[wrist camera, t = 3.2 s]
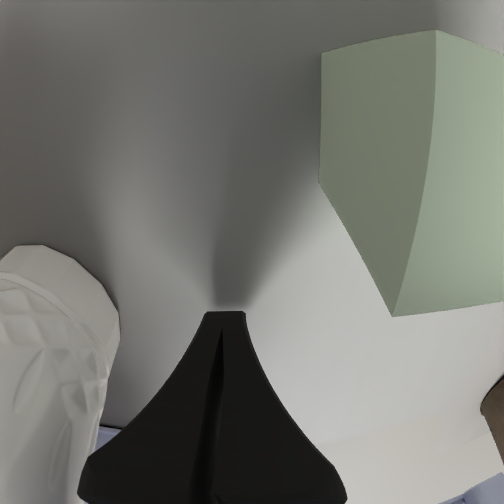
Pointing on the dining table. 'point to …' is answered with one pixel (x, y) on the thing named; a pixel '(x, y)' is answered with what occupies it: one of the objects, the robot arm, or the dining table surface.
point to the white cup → (50, 373)
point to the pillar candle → (495, 415)
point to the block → (418, 166)
